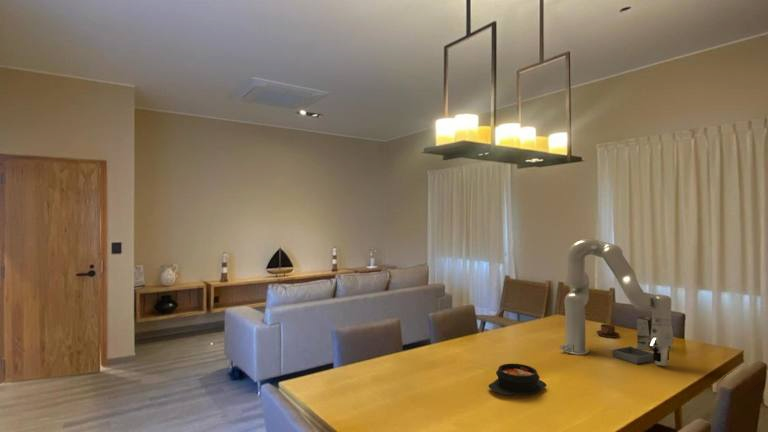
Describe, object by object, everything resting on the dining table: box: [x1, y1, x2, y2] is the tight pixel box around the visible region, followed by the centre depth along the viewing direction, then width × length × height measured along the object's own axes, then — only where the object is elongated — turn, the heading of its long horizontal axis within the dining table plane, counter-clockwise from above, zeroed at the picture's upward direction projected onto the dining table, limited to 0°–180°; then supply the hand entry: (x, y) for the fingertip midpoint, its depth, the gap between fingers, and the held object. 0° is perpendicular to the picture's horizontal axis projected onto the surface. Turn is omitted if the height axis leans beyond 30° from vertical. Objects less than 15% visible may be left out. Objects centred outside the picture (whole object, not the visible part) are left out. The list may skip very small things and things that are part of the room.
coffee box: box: [636, 315, 652, 351], centre depth 227 cm, size 9×6×16 cm
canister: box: [654, 344, 668, 367], centre depth 197 cm, size 5×5×9 cm
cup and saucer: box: [596, 323, 620, 338], centre depth 250 cm, size 12×12×6 cm
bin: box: [611, 346, 655, 366], centre depth 208 cm, size 13×13×4 cm
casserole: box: [488, 363, 547, 397], centre depth 171 cm, size 25×19×8 cm
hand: (661, 359), depth 197 cm, fingers closed on canister, 5 cm apart
